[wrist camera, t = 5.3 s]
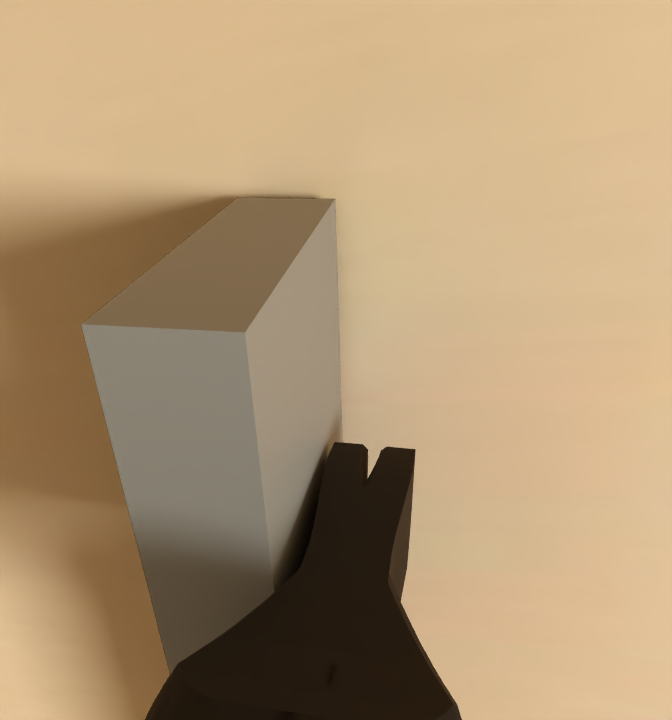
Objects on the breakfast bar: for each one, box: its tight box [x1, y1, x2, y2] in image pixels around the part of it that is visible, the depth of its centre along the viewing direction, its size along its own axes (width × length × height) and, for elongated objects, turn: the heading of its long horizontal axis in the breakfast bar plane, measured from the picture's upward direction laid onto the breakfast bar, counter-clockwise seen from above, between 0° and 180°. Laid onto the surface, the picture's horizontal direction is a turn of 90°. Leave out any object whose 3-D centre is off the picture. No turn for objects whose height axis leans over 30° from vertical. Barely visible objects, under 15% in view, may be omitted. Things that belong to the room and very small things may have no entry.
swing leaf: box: [81, 198, 342, 674], centre depth 13 cm, size 12×3×6 cm, turn 2°
